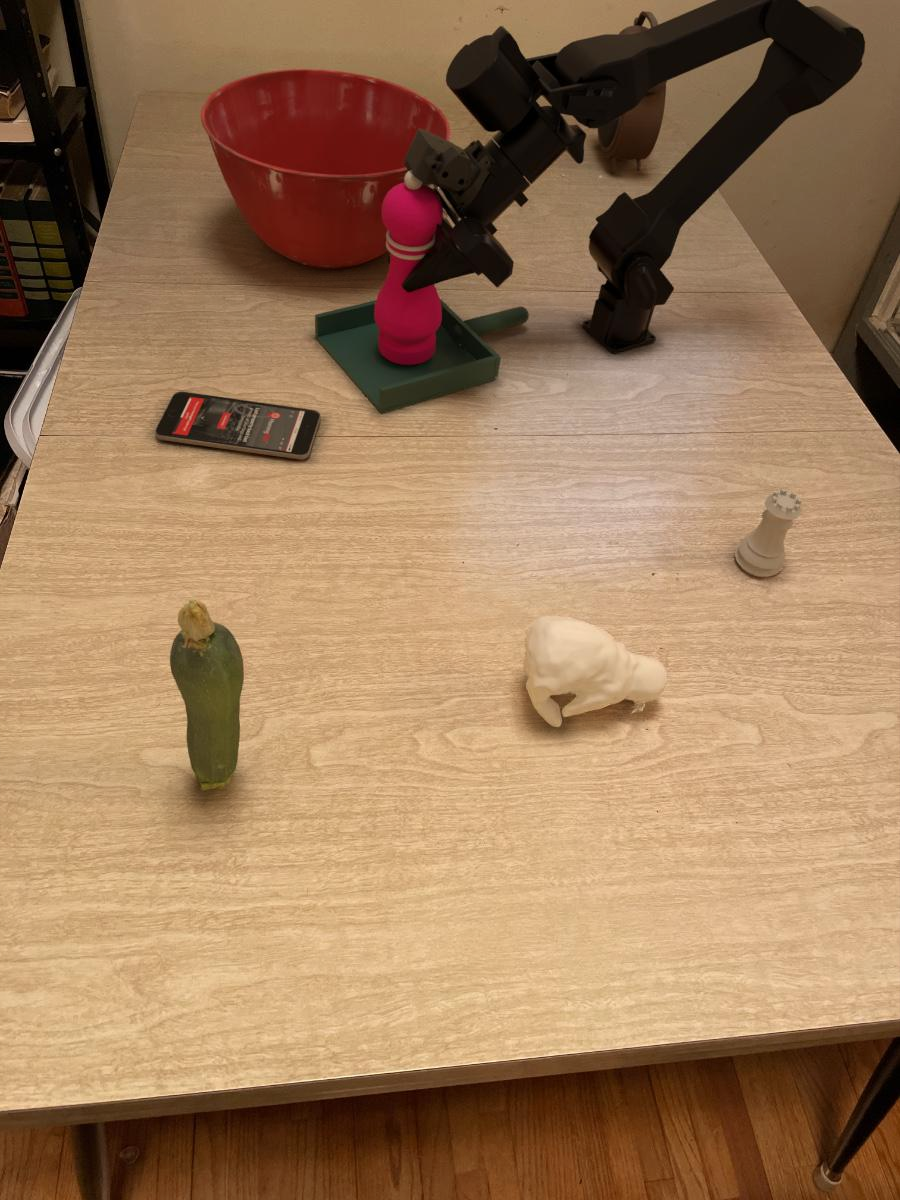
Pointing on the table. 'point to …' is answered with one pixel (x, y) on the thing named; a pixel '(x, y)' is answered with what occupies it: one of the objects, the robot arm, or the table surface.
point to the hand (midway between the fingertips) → (397, 276)
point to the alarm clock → (635, 118)
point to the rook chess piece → (769, 536)
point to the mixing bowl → (316, 157)
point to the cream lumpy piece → (585, 669)
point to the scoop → (399, 385)
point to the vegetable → (208, 693)
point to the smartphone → (239, 425)
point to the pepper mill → (408, 240)
